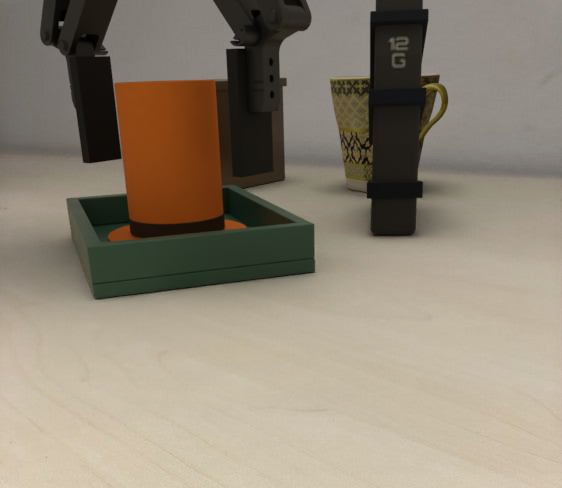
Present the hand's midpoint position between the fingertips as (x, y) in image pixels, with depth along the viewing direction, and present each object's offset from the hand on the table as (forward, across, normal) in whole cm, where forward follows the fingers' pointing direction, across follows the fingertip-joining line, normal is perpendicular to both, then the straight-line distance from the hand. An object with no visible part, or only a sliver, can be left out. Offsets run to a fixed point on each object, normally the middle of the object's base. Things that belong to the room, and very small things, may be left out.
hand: (171, 167), depth 44 cm
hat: (+5, 0, 0) cm, 5 cm away
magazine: (+6, -6, -17) cm, 19 cm away
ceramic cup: (+6, +1, -29) cm, 30 cm away
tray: (+5, 0, 0) cm, 5 cm away
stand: (+5, +19, -24) cm, 31 cm away
